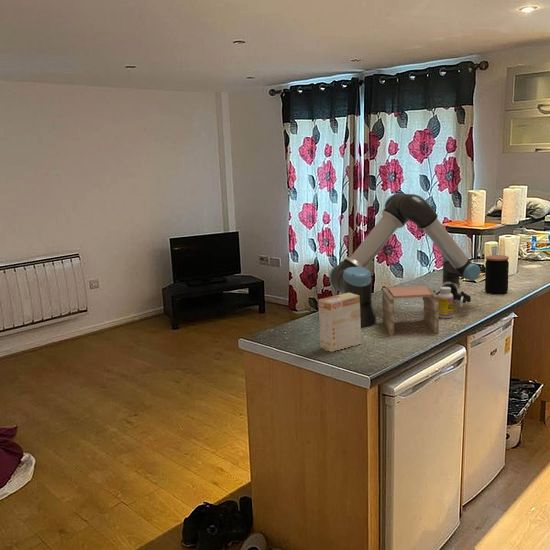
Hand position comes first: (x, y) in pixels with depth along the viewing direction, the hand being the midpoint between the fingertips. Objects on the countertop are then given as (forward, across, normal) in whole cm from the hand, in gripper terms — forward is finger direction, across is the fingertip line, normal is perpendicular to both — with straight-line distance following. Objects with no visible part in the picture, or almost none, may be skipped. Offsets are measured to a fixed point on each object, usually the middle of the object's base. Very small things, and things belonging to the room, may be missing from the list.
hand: (444, 302), depth 237 cm
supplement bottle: (-3, 0, -7) cm, 8 cm away
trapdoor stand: (+16, +13, -7) cm, 21 cm away
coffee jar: (-50, -20, -7) cm, 54 cm away
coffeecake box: (+44, +34, -7) cm, 56 cm away
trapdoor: (+15, +13, +8) cm, 21 cm away
